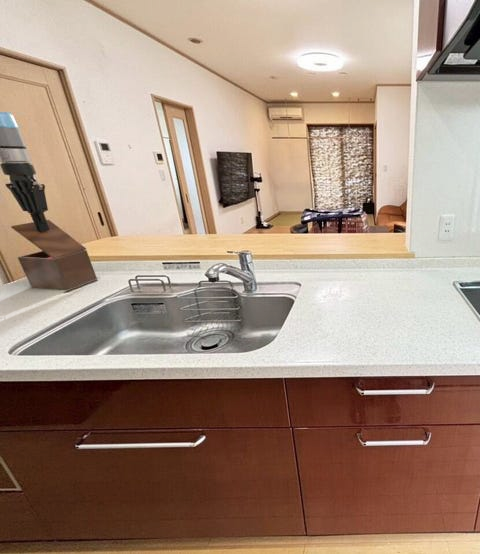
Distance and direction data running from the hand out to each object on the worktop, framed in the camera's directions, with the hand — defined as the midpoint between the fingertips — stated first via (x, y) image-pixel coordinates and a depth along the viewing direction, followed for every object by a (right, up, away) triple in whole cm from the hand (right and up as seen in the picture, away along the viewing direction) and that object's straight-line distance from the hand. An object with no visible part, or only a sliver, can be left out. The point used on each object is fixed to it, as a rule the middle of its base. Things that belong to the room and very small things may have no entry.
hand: (43, 230), depth 109 cm
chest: (0, -21, +8) cm, 22 cm away
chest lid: (+1, -3, +1) cm, 4 cm away
